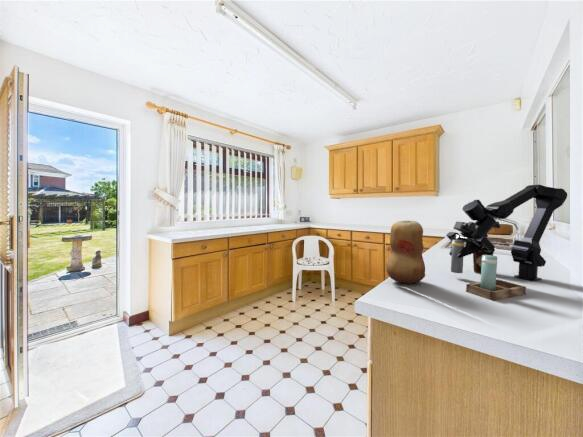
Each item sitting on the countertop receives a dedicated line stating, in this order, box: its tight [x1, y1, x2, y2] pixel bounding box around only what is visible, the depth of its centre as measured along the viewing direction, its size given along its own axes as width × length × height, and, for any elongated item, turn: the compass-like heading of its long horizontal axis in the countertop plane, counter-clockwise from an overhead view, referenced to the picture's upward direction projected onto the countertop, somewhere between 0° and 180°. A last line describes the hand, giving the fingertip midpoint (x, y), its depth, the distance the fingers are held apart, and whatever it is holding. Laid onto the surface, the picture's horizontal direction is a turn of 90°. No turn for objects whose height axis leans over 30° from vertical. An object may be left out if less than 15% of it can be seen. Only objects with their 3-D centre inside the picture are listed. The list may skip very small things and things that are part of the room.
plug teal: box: [480, 255, 498, 291], centre depth 83 cm, size 4×4×13 cm
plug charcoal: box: [450, 240, 465, 274], centre depth 100 cm, size 4×4×13 cm
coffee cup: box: [472, 245, 496, 275], centre depth 111 cm, size 9×8×13 cm
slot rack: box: [465, 278, 527, 302], centre depth 84 cm, size 17×9×4 cm, turn 110°
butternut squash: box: [385, 219, 426, 285], centre depth 96 cm, size 14×13×25 cm
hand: (454, 255), depth 100 cm, fingers closed on plug charcoal, 4 cm apart
